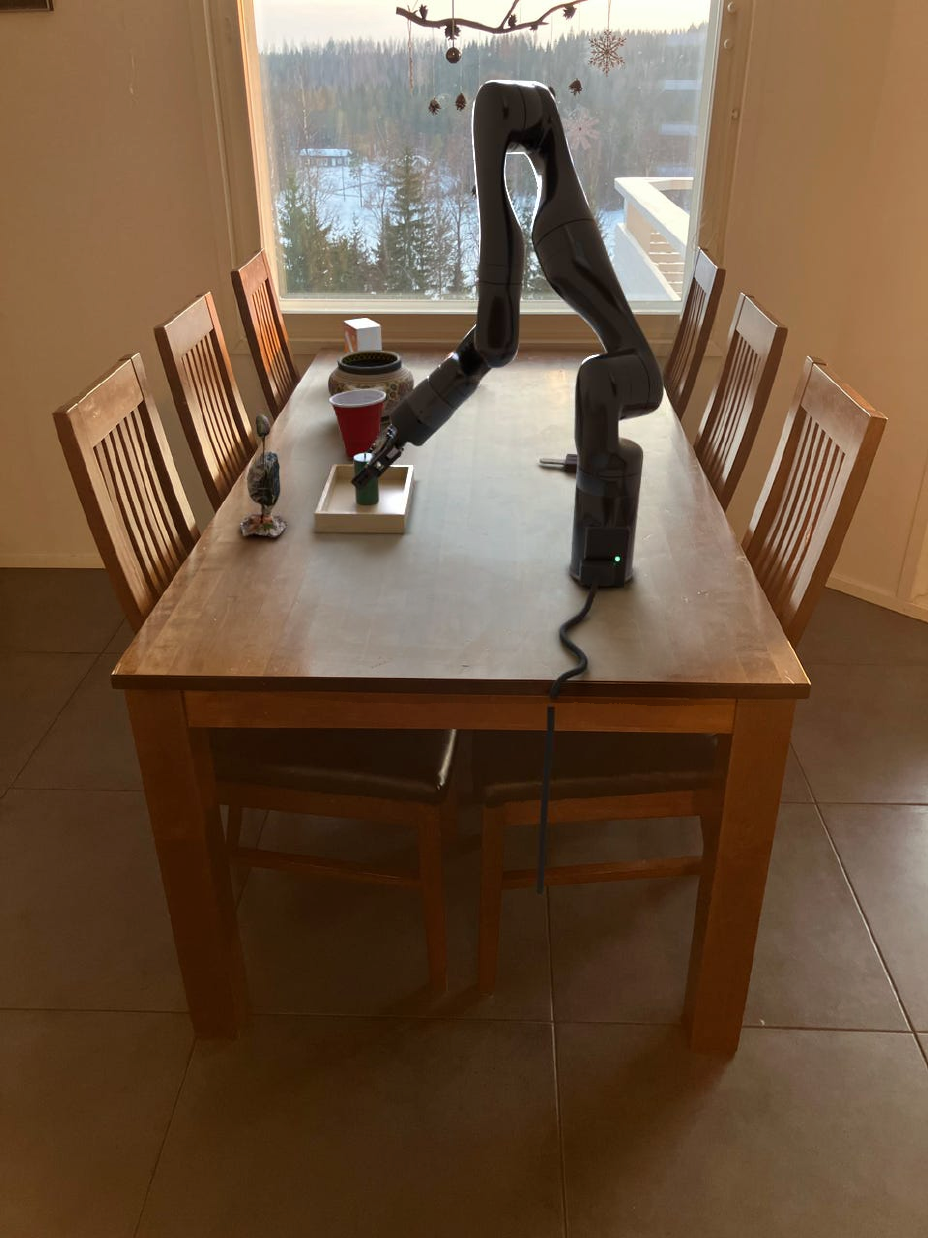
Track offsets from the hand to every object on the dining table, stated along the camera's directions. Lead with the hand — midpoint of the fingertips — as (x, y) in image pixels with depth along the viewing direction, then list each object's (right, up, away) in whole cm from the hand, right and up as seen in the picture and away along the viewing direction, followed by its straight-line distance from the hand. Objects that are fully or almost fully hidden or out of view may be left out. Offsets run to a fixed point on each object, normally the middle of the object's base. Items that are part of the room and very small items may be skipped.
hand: (358, 475), depth 167 cm
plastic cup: (-2, +7, +24) cm, 25 cm away
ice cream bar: (+40, +4, +18) cm, 44 cm away
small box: (-6, +33, +68) cm, 76 cm away
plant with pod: (-15, -9, -5) cm, 18 cm away
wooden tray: (+1, -5, +3) cm, 6 cm away
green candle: (+1, -4, +3) cm, 5 cm away
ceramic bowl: (-1, +18, +43) cm, 47 cm away
